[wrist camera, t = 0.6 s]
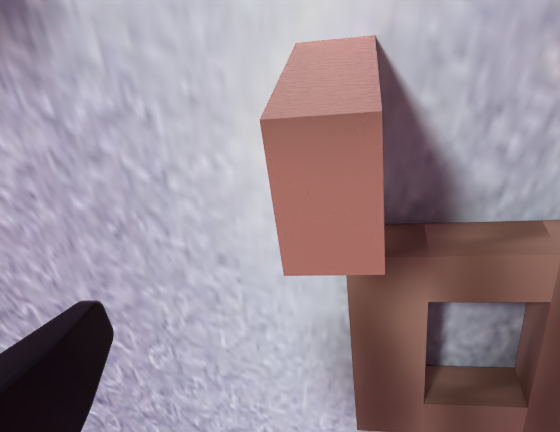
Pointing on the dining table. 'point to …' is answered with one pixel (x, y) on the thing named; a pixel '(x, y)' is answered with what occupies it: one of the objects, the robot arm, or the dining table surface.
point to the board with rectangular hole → (457, 288)
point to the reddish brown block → (327, 159)
